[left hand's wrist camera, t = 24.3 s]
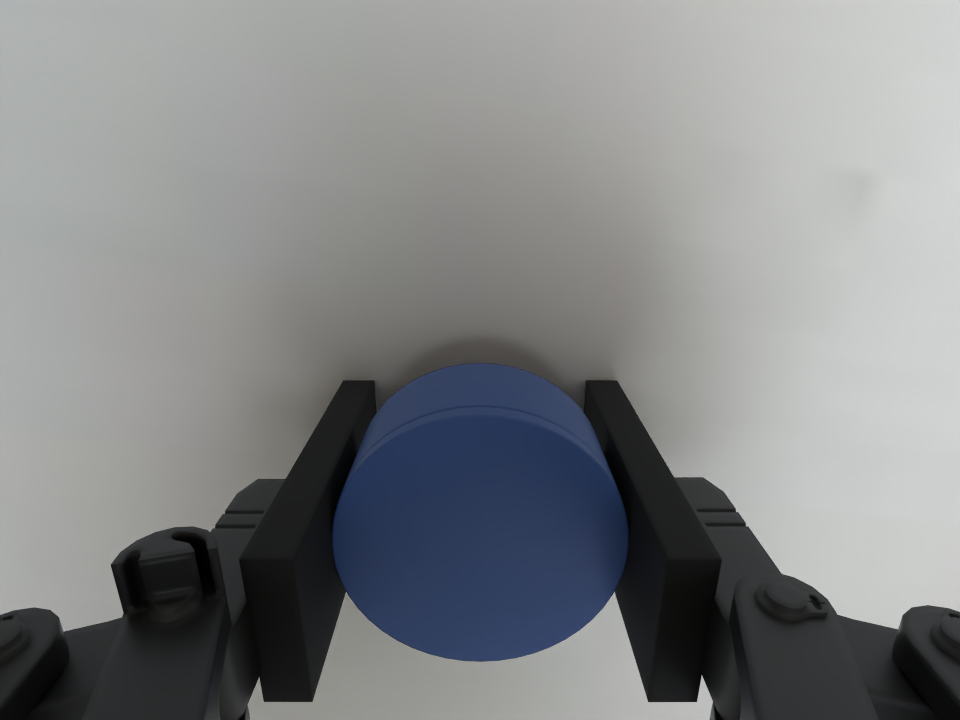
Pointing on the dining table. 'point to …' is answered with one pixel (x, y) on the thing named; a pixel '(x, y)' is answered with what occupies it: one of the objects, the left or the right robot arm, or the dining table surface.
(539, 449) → the lid
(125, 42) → the dining table surface
